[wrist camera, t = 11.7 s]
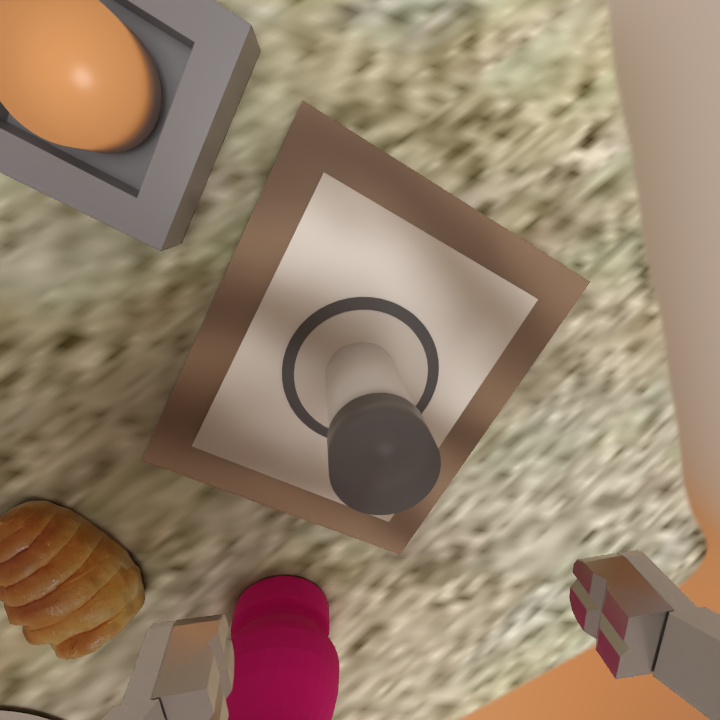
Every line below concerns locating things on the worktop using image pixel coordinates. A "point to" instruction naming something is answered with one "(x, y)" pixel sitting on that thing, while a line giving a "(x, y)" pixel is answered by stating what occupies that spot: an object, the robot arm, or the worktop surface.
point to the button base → (170, 134)
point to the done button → (76, 74)
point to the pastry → (65, 579)
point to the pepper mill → (283, 653)
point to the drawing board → (354, 326)
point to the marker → (376, 434)
